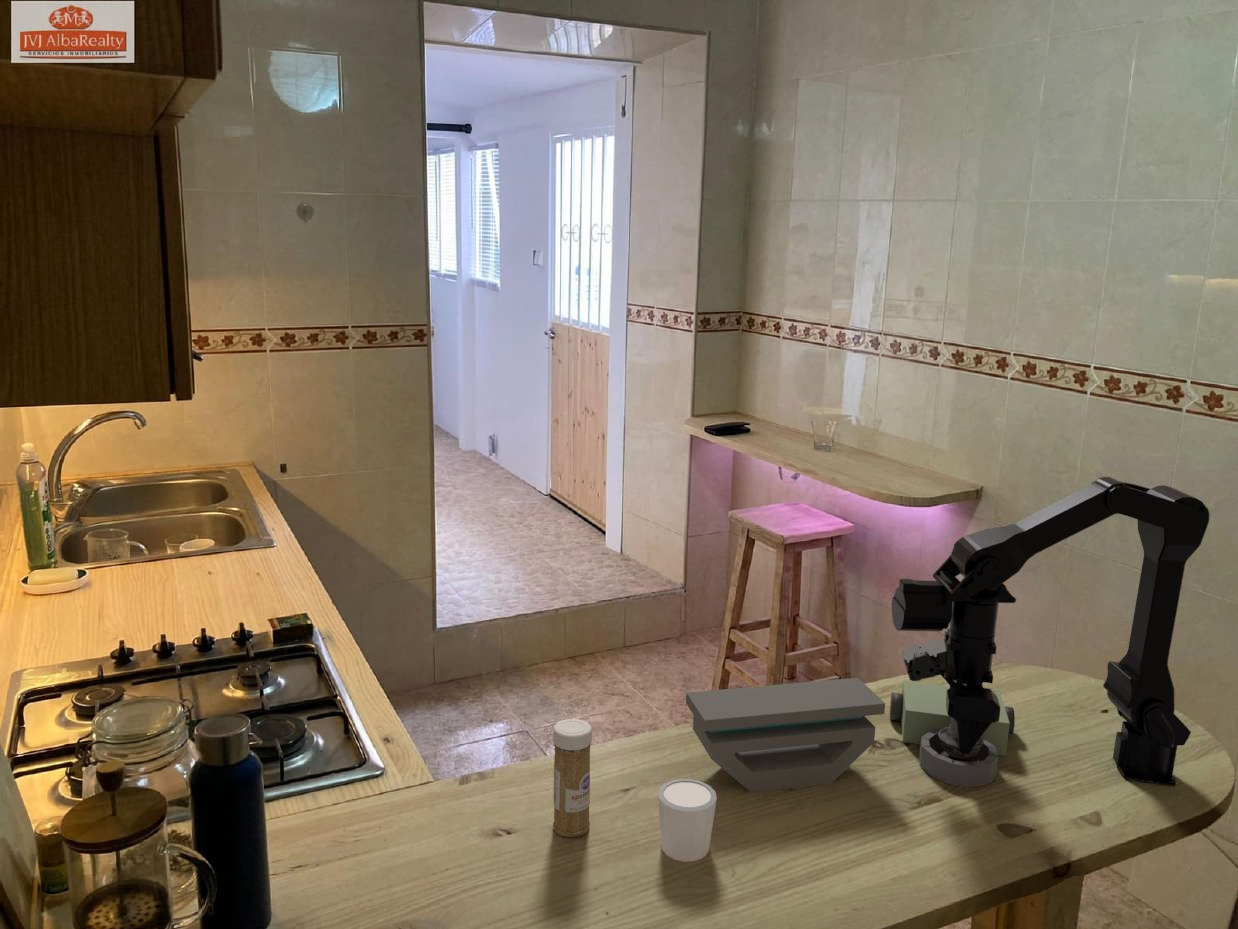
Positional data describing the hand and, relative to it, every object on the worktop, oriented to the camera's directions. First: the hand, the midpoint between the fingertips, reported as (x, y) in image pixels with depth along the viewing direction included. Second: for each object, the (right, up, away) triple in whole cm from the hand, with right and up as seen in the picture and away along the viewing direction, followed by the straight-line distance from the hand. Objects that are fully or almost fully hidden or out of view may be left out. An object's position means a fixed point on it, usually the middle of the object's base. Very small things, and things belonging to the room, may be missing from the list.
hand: (960, 737), depth 132 cm
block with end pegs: (+1, -3, +6) cm, 7 cm away
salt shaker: (0, -4, +1) cm, 4 cm away
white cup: (-39, -8, -18) cm, 44 cm away
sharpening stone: (-25, -5, -1) cm, 25 cm away
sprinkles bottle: (-53, -7, -15) cm, 55 cm away
